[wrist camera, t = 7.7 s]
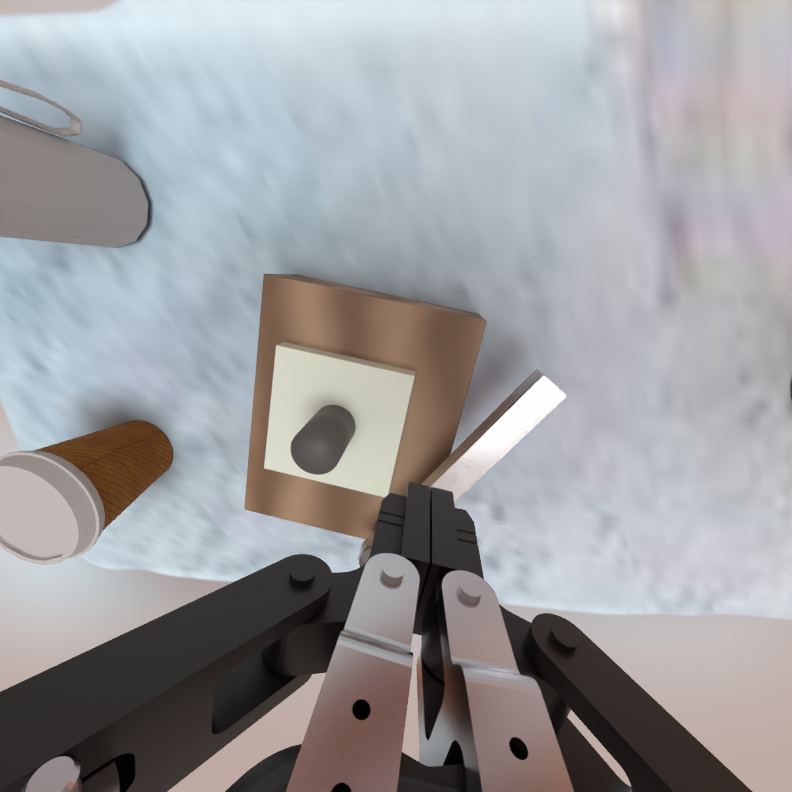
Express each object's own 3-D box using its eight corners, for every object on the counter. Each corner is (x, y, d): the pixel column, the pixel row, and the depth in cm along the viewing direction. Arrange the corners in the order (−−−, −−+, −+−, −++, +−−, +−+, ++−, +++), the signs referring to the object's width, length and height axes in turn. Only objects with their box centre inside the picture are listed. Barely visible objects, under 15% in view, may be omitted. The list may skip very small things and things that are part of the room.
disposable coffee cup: (130, 496, 41) (13, 578, 30) (86, 418, 39) (-60, 476, 28) (203, 477, 40) (107, 557, 28) (161, 394, 37) (38, 445, 26)
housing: (478, 313, 31) (489, 324, 24) (425, 511, 38) (422, 565, 31) (295, 274, 32) (253, 273, 25) (273, 475, 38) (235, 519, 31)
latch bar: (560, 389, 25) (572, 400, 23) (382, 560, 31) (377, 581, 28) (534, 366, 25) (543, 375, 22) (359, 542, 30) (352, 563, 28)
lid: (415, 371, 27) (409, 395, 22) (389, 487, 31) (378, 535, 25) (284, 341, 28) (244, 357, 22) (272, 459, 31) (234, 500, 25)
